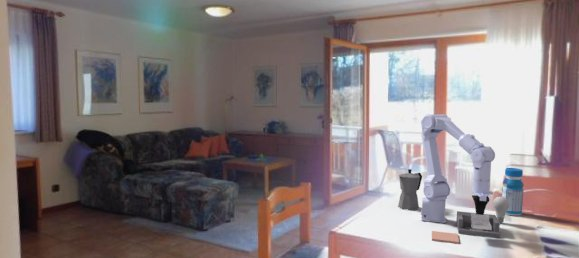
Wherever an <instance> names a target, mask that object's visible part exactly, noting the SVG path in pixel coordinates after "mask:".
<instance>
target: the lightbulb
mask: <svg viewBox="0 0 579 258" xmlns="http://www.w3.org/2000/svg"><path fill="white" fill-rule="evenodd" d="M492 205H493V208H494V210H495V216H496V217H497V219H498V221H499V223H500V224H502V223H504V221H505V220H504V219H505V218H506V217H505V216H506V214H505V213H506V211H507V210H508V208H509V206H510V204H509V201H508V200H507V199H506V198H505V197H502V195H500V196H496V197H495V198H494V199H493V201H492Z"/></svg>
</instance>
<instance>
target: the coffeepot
mask: <svg viewBox="0 0 579 258" xmlns="http://www.w3.org/2000/svg"><path fill="white" fill-rule="evenodd" d="M407 171H408V172H406V173H405V172H404V173H400V174H399V175H398V177H399V185H400V186H399V188H400V190H401V193H400V195H399V200H398V205H397V207H398V208H399V207H400V208H399V209H401V208H402V209H401V210H404V209H408V210H407V211H416V210H415V209H417V210H418V209H419V207H420V206H419V205H420V204H419V198H418V194H417V191H419V190H420V186H421V183H422V181H423V179H422V178H423V175H422V174H421V172H416V173H412V169H411V168H408V169H407Z"/></svg>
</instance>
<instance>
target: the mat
mask: <svg viewBox="0 0 579 258" xmlns="http://www.w3.org/2000/svg"><path fill="white" fill-rule="evenodd" d="M458 234H459V233H454V232H453V233H452V232H447V231H446V232H444V231H437V230H431V240H432V241H434V242H441V243H443V242H444V243H451V244H459V245H460V240H459V239H460V238H459V235H458Z"/></svg>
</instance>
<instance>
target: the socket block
mask: <svg viewBox="0 0 579 258" xmlns="http://www.w3.org/2000/svg"><path fill="white" fill-rule="evenodd" d="M471 213H472V212H467V211H458V210H457V211H456V222H455V224H456V228H457V234H460V235H469V236H470V235H471V236H479V237H487V238H498V239H500V238H501V234H500V224H501V223H499V221H498V219H497V216H496V214H489V213H484V214H485V215H489V222H490V224H491V226H492V230H486V229H484V231H482V230H473V229H471ZM474 213H475V214H476V212H474Z"/></svg>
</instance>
